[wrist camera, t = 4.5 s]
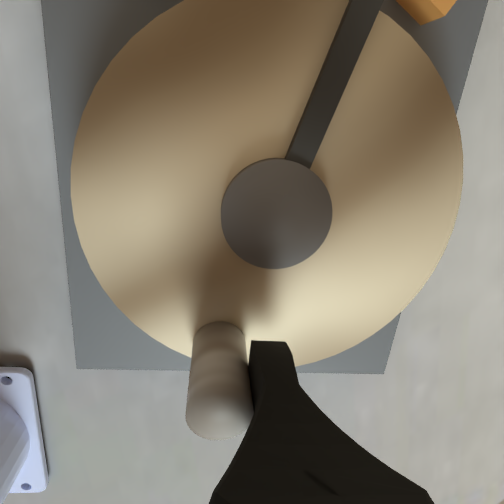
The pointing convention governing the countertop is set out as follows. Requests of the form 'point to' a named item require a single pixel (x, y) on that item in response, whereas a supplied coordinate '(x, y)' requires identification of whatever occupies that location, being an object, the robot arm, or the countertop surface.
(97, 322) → the dial board
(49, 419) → the countertop surface
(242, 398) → the cam dial
